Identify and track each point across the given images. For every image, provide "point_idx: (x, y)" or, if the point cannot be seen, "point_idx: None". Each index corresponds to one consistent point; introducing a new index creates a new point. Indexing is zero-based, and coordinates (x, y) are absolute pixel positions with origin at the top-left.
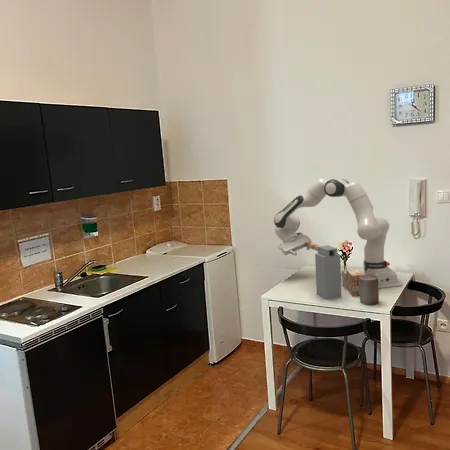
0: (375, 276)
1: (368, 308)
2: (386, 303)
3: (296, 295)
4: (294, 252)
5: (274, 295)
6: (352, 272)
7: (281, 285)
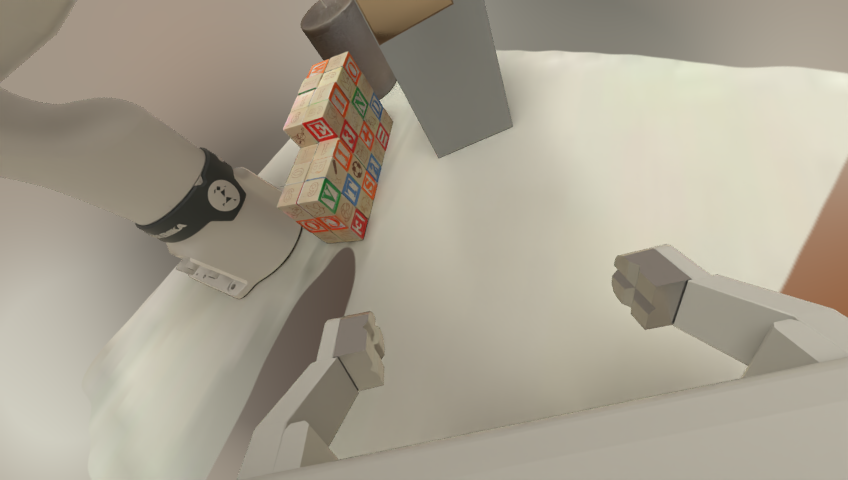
0: (306, 16)
1: None
2: None
3: (620, 110)
4: (679, 267)
5: (787, 96)
6: (325, 82)
7: None
